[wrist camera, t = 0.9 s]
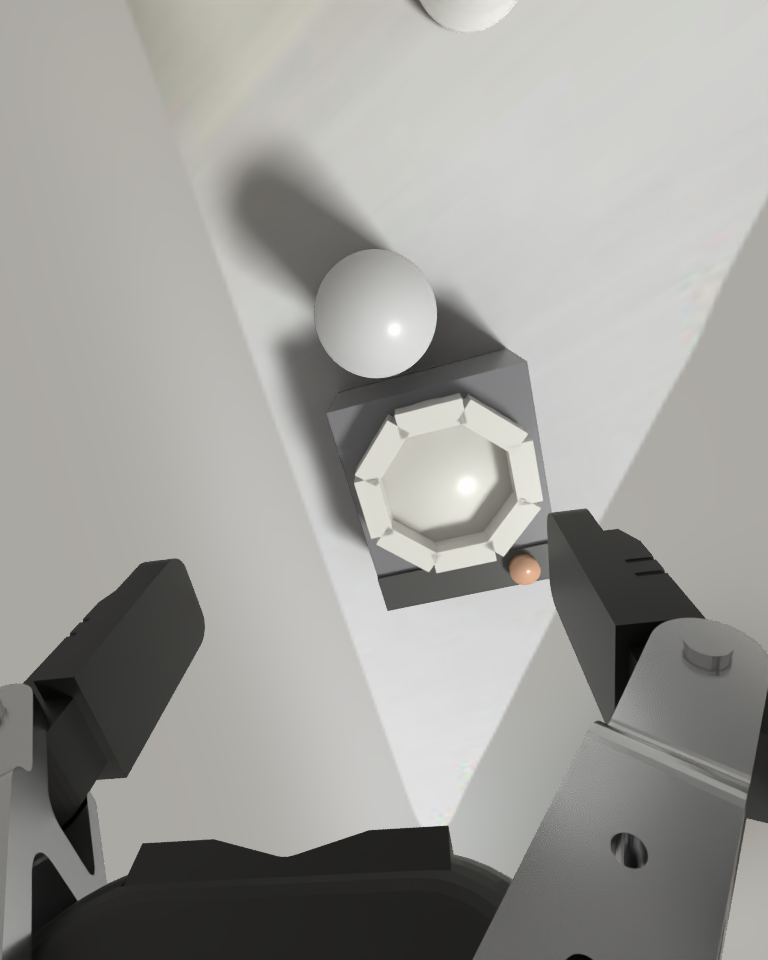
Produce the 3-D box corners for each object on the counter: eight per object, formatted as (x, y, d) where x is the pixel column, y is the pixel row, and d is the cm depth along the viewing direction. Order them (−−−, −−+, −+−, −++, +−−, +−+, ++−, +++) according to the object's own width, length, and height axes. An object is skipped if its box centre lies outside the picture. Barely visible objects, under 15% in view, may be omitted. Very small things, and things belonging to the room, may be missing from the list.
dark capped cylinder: (350, 246, 27) (329, 233, 19) (439, 272, 27) (452, 269, 20) (329, 340, 29) (303, 360, 21) (413, 363, 29) (417, 391, 21)
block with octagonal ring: (338, 392, 30) (321, 421, 24) (506, 348, 28) (534, 366, 22) (390, 563, 34) (386, 625, 28) (539, 532, 32) (569, 589, 26)
